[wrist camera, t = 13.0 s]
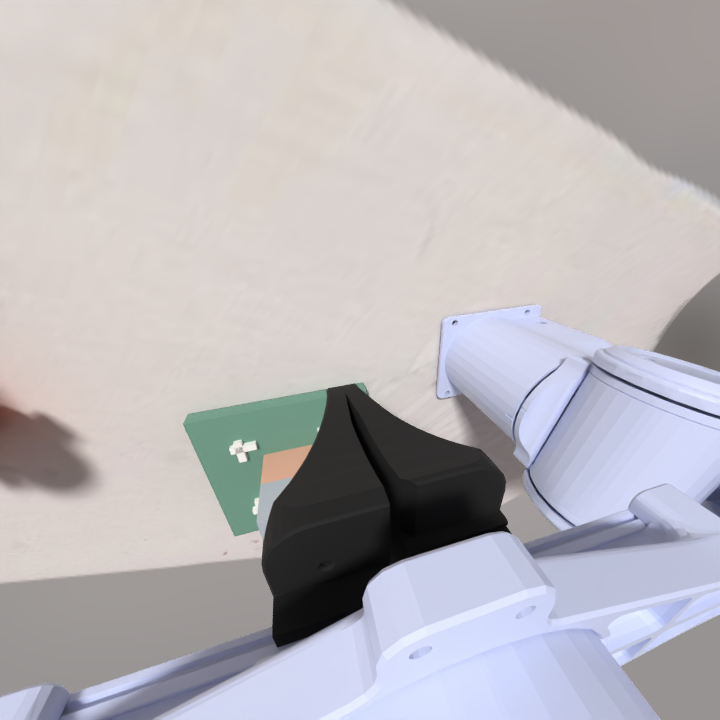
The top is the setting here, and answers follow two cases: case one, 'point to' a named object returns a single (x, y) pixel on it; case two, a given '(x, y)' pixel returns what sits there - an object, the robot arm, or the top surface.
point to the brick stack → (277, 479)
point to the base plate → (251, 446)
